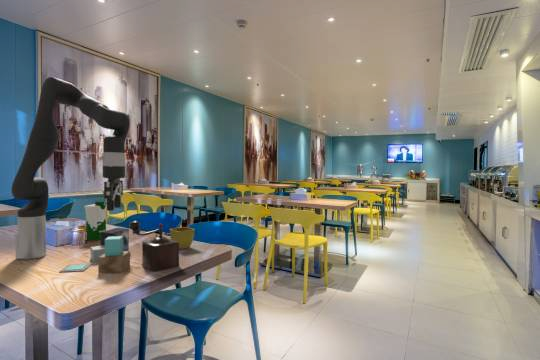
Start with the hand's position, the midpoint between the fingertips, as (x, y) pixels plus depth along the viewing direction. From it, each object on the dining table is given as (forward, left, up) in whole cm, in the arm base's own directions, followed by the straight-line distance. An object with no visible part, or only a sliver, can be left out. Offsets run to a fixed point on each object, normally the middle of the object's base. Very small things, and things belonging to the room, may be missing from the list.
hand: (114, 208), depth 112 cm
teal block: (0, 0, -17) cm, 17 cm away
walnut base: (0, -1, -23) cm, 23 cm away
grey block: (-8, +11, -20) cm, 24 cm away
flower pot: (+22, +28, -23) cm, 42 cm away
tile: (-14, +3, -23) cm, 27 cm away
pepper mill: (+14, 0, -23) cm, 27 cm away
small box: (-6, +22, -23) cm, 32 cm away
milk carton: (-24, +53, -23) cm, 63 cm away
